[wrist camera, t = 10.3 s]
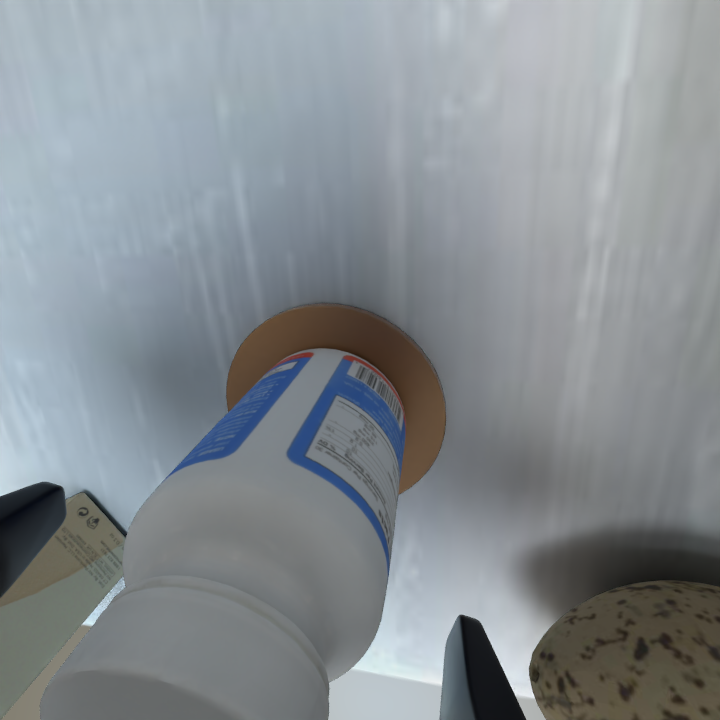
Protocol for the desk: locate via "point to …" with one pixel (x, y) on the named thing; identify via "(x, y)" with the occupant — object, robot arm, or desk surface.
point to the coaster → (368, 342)
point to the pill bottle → (253, 559)
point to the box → (56, 595)
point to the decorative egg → (633, 656)
